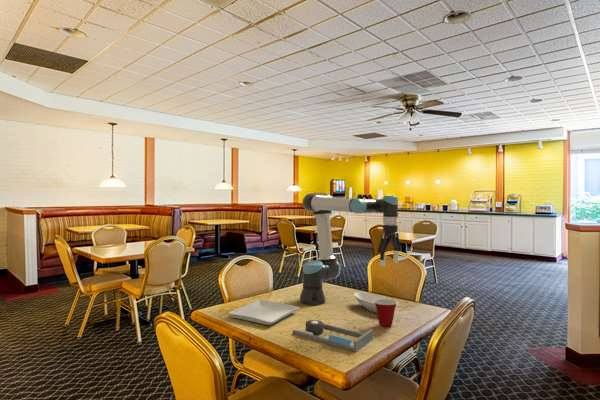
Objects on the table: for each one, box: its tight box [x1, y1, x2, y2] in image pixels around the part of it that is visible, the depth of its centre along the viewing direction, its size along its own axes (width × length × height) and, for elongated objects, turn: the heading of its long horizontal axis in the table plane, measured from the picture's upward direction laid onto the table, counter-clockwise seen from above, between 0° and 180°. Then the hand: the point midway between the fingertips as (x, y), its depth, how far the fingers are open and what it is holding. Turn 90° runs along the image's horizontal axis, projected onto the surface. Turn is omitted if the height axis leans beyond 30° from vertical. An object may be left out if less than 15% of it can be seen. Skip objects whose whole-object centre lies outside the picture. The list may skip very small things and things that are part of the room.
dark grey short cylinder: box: [305, 319, 324, 336], centre depth 161 cm, size 8×8×4 cm
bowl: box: [353, 291, 399, 314], centre depth 194 cm, size 30×15×6 cm, turn 33°
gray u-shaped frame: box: [292, 322, 374, 353], centre depth 155 cm, size 32×16×4 cm, turn 54°
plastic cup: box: [374, 298, 398, 329], centre depth 169 cm, size 11×11×12 cm
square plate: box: [227, 299, 300, 326], centre depth 182 cm, size 27×27×4 cm
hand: (389, 264), depth 187 cm, fingers open, 13 cm apart
